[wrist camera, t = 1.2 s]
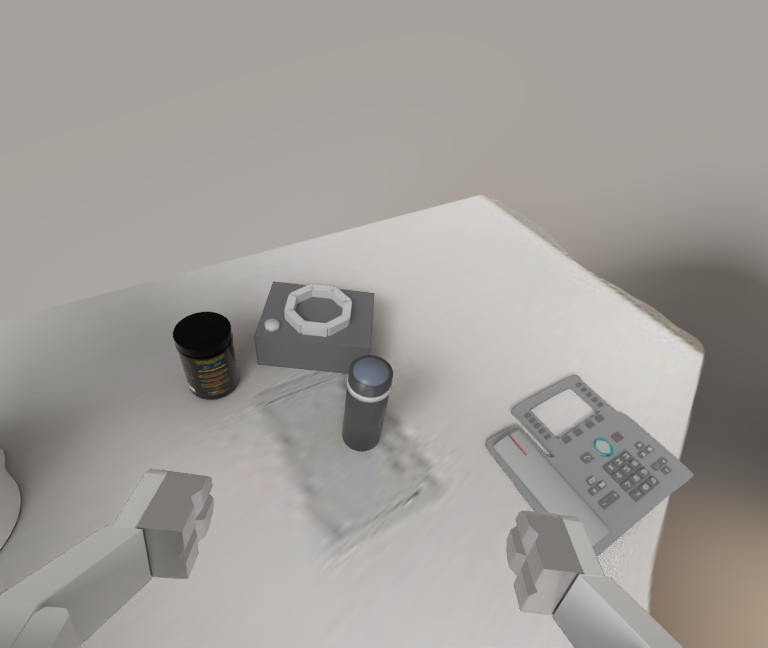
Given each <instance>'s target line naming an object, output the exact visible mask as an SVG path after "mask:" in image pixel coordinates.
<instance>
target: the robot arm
mask: <svg viewBox="0 0 768 648" xmlns="http://www.w3.org/2000/svg"><path fill="white" fill-rule="evenodd" d="M211 488H212V477H208V476H201V475H194V474H187V473H179V472H172V471H164V470H156V469H150V470H149V471H147V472H146V473H145V474H144V476H143V477H142V479H141V480H140V482H139V484H138V485H137V487H136V488H135V490H134V492H133V493H132V495H131V496H130V498H129V500H128V501H127V503H126V504H125V506H124V508H123V509H122V511H121V512H120V514H119V516H118V517H117V519H116V520H115V522H114V524H113V525H112V526H109V525H106V526H104V527H102V528H101V529H99V530H98V531H96V532H95V533H93V534H92V535H90V536H89V537H87V538H86V539H84V540H83V541H81V542H80V543H78V544H77V545H75V546H74V547H72V548H71V549H69V550H68V551H66V552H65V553H63V554H61V555H60V556H58V557H57V558H55V559H54V560H52V561H51V562H49V563H48V564H46V565H45V566H43V567H42V568H40V569H39V570H37V571H36V572H34V573H33V574H31V575H30V576H28V577H27V578H25V579H24V580H22V581H21V582H19V583H17V584H16V585H14V586H13V587H11V588H10V589H8V590H7V591H5V592H4V593H2V594H1V595H0V648H82V647H81V645H82V644H83V643H84V642H85V641H86V640H87V639H88V638H89V637H90V636H91V635H92V634H93V633H94V632H95V631H96V630H98V629H99V628H100V627H101V626H102V625H103V624H104V623H105V622H106V621H107V620H108V619H109V618H110V617H111V616H113V615H114V614H115V613H116V612H117V611H118V610H119V609H120V608H121V607H122V606H123V605H124V604H125V603H126V602H127V601H129V600H130V599H131V598H132V597H133V596H134V595H135V594H136V593H137V592H138V591H139V590H140V589H141V588H142V587H144V586H145V585H146V584H147V583H148V582H149V581H150V580H151V577H165V578H180V579H188V577H189V575H190V573H191V570H192V568H193V565H194V563H195V560H196V558H197V555H198V553H199V552H198V541H200V540H201V539H202V538H203V537H205V536H206V533H207V530H208V528H209V525H210V521H211V517H212V514H213V505H214V503H213V497H212V496H211V495H210V494H209V493H210V491H211ZM20 504H21V497H20V491H19V488H18V486H17V484H16V482H15V481H14V479H13V478H12V477H11V476H10V475H9V474H8V472H7V471H6V468H5V454H4V451H3V450H2V449H0V549H1V547H2V546H3V545H4V543H5V542H6V540H7V539H8V537H9V535H10V534H11V532H12V530H13V528H14V526H15V524H16V521H17V518H18V515H19V511H20ZM516 523H517V526H516V527H515V528H513V529H511V530H510V533H509V535H508V538H507V547H506V551H507V559H508V563H509V567H510V569H511V570H512V571H513V572H514V573H515V574H516V575H517V578H516V580H515V583H514V588H515V592H516V596H517V600H518V604H519V608H520V611H523V612H531V613H539V614H547V615H553V619H554V620H555V621H556V623H557V624H558V626H559V627H560V628H561V630H562V631H563V632H564V634H565V635H566V637H567V638H568V639H569V641H570V642H571V643H572V645H573V646H574V648H683V647H682V646H681V645H680V644H679V643H678V642H677V641H676V640H675V639H674V638H673V637H672V636H671V635H670V634H668V632H666V631H665V630H664V629H663V628H662V627H661V626H660V625H659V624H658V623H657V622H656V621H655V620H654V619H653V618H652V617H651V616H650V615H649V614H648V613H647V612H646V611H645V610H644V609H643V608H642V607H641V606H640V605H639V604H638V603H637V602H636V601H635V600H634V599H633V598H632V597H631V596H630V595H629V594H627V593H626V592H625V591H624V590H623V589H622V588H621V587H620V586H619V585H618V584H617V583H616V582H615V581H614V580H613V579H612V578H611V577H605V575H604V572H603V570H602V568H601V566H600V563H599V561H598V559H597V557H596V554H595V552H594V550H593V548H592V545H591V543H590V541H589V539H588V536H587V534H586V532H585V529H584V527H583V525H582V523H581V521H580V519H579V518H578V517H575V516H566V515H557V514H551V513H541V512H530V511H521V512H519V513H518V515H517V517H516Z"/></svg>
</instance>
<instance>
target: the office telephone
mask: <svg viewBox="0 0 768 648" xmlns="http://www.w3.org/2000/svg"><path fill="white" fill-rule="evenodd" d="M567 389H571V390H572V391H574V392H575V393H576V394H577V395H578V396H579V397H580V398H581V399H583V400H584V401H585V402H586V403H587V404H588V405H589V406H590V407H591V408H592V409H593V410H595V411H596V412H597V414H596V415H594V416H593V417H591V418H590V419H588V420H587V421H585V422H584V423H582V424H581V425H579V426H578V427H576V428H575V429H573V430H572V431H570V432H569V433H567V434H565V435H564V436H562V437H560V438H559V439H557V438H556V437H555V436H554V435H553V434H552V433H551V432H550V431H549V430H548V429H547V428H546V427H545V426H544V425H543V424H542V423H541V422H540V421H539V420H538V419H537V418H536V417H535V415H534V414H533V413H532V412H531V411H530V410H531V409H533V408H535V407H536V406H538V405H540V404H541V403H543V402H545V401H547V400H548V399H550V398H552V397H554V396H555V395H557V394H559V393H561V392H563V391H565V390H567ZM511 414H512V415H513V416H515V417H516V418H517V419H518V420H519V421H520V422H521V423H522V424H523V426H524V427H525V428H526V429H527V430H528V431H529V432H530V433H531V434H532V435H533V436H534V437H535V438H536V440H537V441H538V442H539V443H540V444H541V445H542V446H543V447H544V448H545V449H546V451H547V452H548V453H549V454H550V455H551V456H552V457H549V456H547V455H546V454H545V453H544V452H543V451H542V450H541V449H540V448H539V447H538V446H537V445H536V444H535V442H534V441H533V440H532V439H531V438H530V437H529V436H528V435H527V434H526V433H525V432H524V431H523V430H522V429H521V428H520V427H519V426H518V425H514V426H512V427H510V428H508V429H506V430H504V431H502V432H500V433H498V434H497V435H495V436H493V437H491V438H490V439H489V440H487V442H486V447H487V449H488V451H489V452H490V453H491V455H492V456H493V458H494V459H495V460H496V462H497V463H498V464H499V466H500V467H501V468H502V469H503V471H504V472H505V473H506V475H507V476H508V477H509V478H510V479H511V480H512V482H513V483H514V485H515V487H516V488H517V489H518V491H519V492H520V493H521V495H522V496H523V497H524V498H525V500H526V501H527V502H528V503H529V505H530V506H531V507H532V509H533V510H534V511H535V512H541V513H551V514H557V515H566V516H575V517H578V518H579V519H580V521H581V523H582V525H583V527H584V529H585V532H586V534H587V536H588V539H589V541H590V543H591V545H592V548H593V550H594V552H595V554H596V557H597V556H598V555H599V554H601V553H602V552H603V551H604V550H605V549H606V548H608V547H609V546H610V545H611V544H612V543H613V542H615V541H616V540H617V539H618V538H619V537H620V536H622V535H623V534H624V533H625V532H626V531H627V530H629V529H630V528H631V527H632V526H633V525H634V524H636V523H637V522H638V521H639V520H640V519H641V518H643V517H644V516H645V515H646V514H647V513H648V512H650V511H651V510H652V509H653V508H654V507H655V506H657V505H658V504H659V503H660V502H661V501H662V500H663V499H665V498H666V497H667V496H668V495H669V494H670V493H672V492H674V491H676V490H677V489H678V488H679V487H681V486H682V485H683V484H684V483H686V482H687V481H688V480H689V479H690V478H691V477H693V476H694V475H693V474H692V472H691V471H690V470H689V469H688V468H687V467H686V466H684V465H683V464H682V463H681V462H680V461H679V460H678V459H676V458H675V457H674V456H673V455H672V454H671V453H670V452H668V451H667V450H666V449H665V448H664V447H663V446H662V445H661V444H659V443H658V442H657V441H656V440H655V439H654V438H653V437H651V436H650V435H649V434H648V433H647V432H646V431H645V430H643V429H642V428H641V427H640V426H639V425H638V424H637V423H635V422H634V421H633V420H632V419H631V418H629V417H628V416H627V415H625V414H619V413H618V412H617V411H615V410H614V409H613V408H612V407H611V406H610V405H608V404H607V403H606V402H605V401H604V400H603V399H602V398H600V397H599V396H598V395H597V394H596V393H595V392H594V391H593V390H592V389H590V388H589V387H588V386H587V385H586V384H585V383H584V382H583V381H582V380H581V378H580V377H579V376H577V375H573V376H571V377H569V378H567V379H565V380H563V381H561V382H559V383H557V384H555V385H553V386H552V387H550V388H548V389H546V390H544V391H542V392H540V393H538V394H537V395H535V396H533V397H531V398H529V399H527V400H526V401H524V402H522V403H521V404H519V405H517V406H516V407H514V408H513V409H512V411H511ZM608 455H609V456H608Z"/></svg>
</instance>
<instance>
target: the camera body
mask: <svg viewBox="0 0 768 648" xmlns="http://www.w3.org/2000/svg"><path fill="white" fill-rule="evenodd" d="M373 304H374V293H368V292H359V291H351V290H342V289H338V288H335V287H334V286H325V285H316V284H312V286H311V285H310V284H309V285H298V284H290V283H281V282H273V284H272V287H271V290H270V293H269V296H268V299H267V301H266V304H265V307H264V310H263V313H262V316H261V319H260V322H259V325H258V327H257V330H256V333H255V344H256V352H257V360H258V364H260V365H270V366H279V367H289V368H299V369H308V370H318V371H328V372H337V373H347V374H348V373H349V367H350V365H351V363H352V362H353V361H354V360H355V359H357V358H359V357H361V356H366V355H369V352H370V343H371V330H372V317H373Z"/></svg>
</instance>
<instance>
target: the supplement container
mask: <svg viewBox="0 0 768 648" xmlns="http://www.w3.org/2000/svg"><path fill="white" fill-rule="evenodd" d="M173 338H174V341H175V345H176V348H177V350H178V353H179V356H180V359H181V363H182V366H183V369H184V372H185V375H186V379H187V382H188V385H189V388H190V390H191V392H192V393H193V394H195V395H196V396H197V397H199V398H202V399H207V400H214V399H219V398H222V397H224V396H226V395H228V394H230V393H231V392H232V391H233V390H234V389H235V388H236V386H237V384H238V381H239V371H238V366H237V360H236V354H235V348H234V343H233V334H232V330H231V325H230V322H229V321H228V319H227V318H226V317H224V316H223V315H221V314H218V313H214V312H199V313H195V314H192V315H189V316H187V317H185V318H184V319H182V320H181V321H180V322H179V323H178V324H177V325H176V326H175V328H174V331H173Z"/></svg>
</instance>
